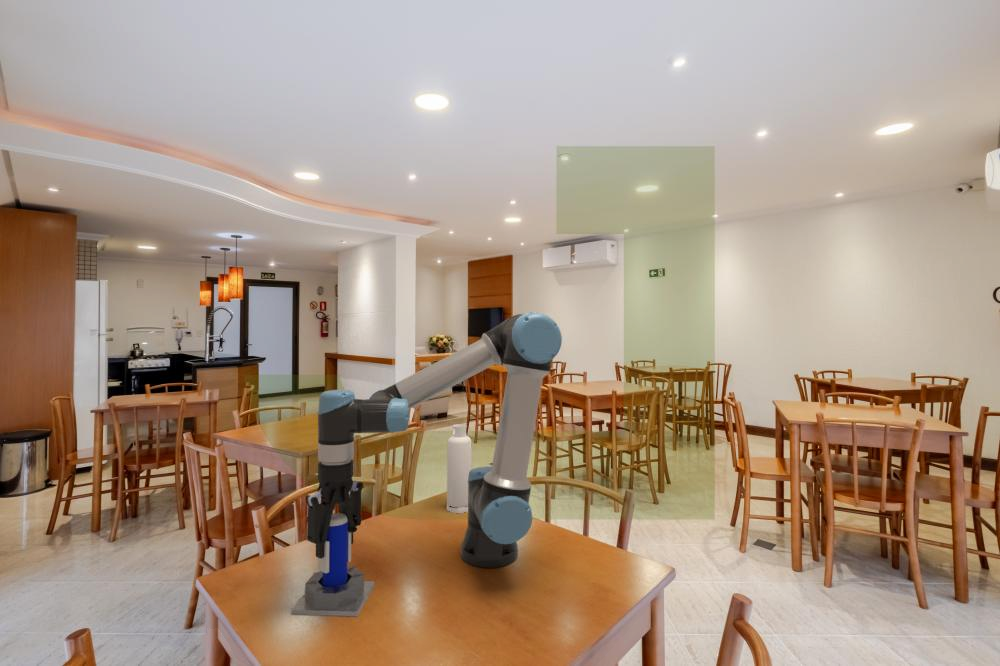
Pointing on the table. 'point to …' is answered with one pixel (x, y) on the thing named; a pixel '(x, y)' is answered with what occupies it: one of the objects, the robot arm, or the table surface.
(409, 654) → the table surface
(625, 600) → the table surface
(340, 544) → the beverage can
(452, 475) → the bottle
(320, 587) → the socket
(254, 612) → the table surface
